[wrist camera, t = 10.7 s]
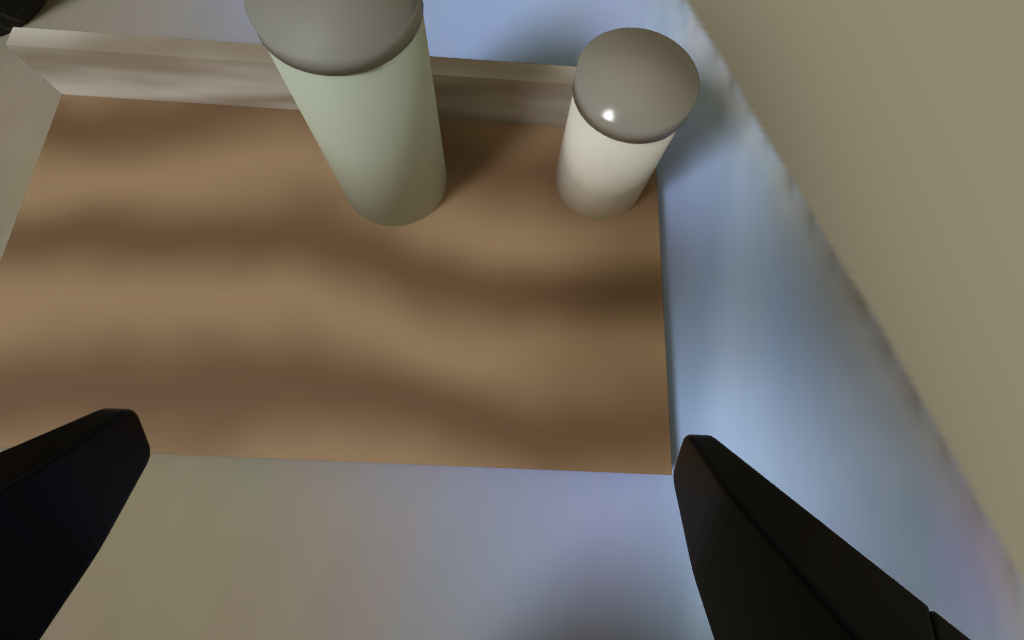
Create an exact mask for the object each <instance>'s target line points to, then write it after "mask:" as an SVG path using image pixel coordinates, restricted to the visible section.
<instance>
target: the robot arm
mask: <svg viewBox="0 0 1024 640" xmlns="http://www.w3.org/2000/svg"><path fill="white" fill-rule="evenodd" d="M149 457H150V445H149V442H148V440H147V437H146V435H145V432H144V429H143V427H142V424H141V422H140V419H139V417H138V415H137V413H136V412H134V411H133V410H131V409H123V408H104V409H100V410H97V411H95V412H93V413H90V414H88V415H86V416H83V417H81V418H79V419H77V420H74V421H72V422H70V423H67V424H65V425H63V426H60V427H58V428H56V429H53V430H51V431H49V432H46V433H44V434H42V435H39V436H37V437H35V438H32V439H30V440H28V441H25V442H23V443H21V444H19V445H16V446H14V447H12V448H9V449H7V450H5V451H2V452H0V640H40V639H41V637H42V636H43V634H44V633H45V631H46V630H47V628H48V627H49V625H50V624H51V622H52V621H53V619H54V618H55V616H56V615H57V613H58V612H59V610H60V609H61V607H62V606H63V604H64V603H65V601H66V600H67V598H68V597H69V595H70V594H71V593H72V591H73V590H74V588H75V587H76V585H77V584H78V582H79V581H80V579H81V578H82V576H83V575H84V573H85V572H86V570H87V569H88V567H89V566H90V564H91V563H92V561H93V559H94V558H95V556H96V555H97V553H98V552H99V550H100V548H101V547H102V545H103V543H104V541H105V540H106V538H107V536H108V534H109V533H110V531H111V529H112V527H113V525H114V523H115V522H116V520H117V518H118V516H119V514H120V512H121V511H122V509H123V507H124V505H125V503H126V502H127V500H128V498H129V496H130V494H131V492H132V491H133V489H134V487H135V485H136V483H137V481H138V480H139V478H140V476H141V474H142V472H143V470H144V469H145V467H146V465H147V463H148V460H149ZM674 486H675V491H676V496H677V500H678V505H679V510H680V515H681V519H682V524H683V529H684V533H685V538H686V543H687V548H688V552H689V557H690V561H691V566H692V570H693V574H694V577H695V580H696V584H697V587H698V590H699V593H700V596H701V600H702V603H703V606H704V609H705V612H706V615H707V618H708V621H709V624H710V627H711V630H712V633H713V636H714V640H970V639H969V638H968V637H966V636H965V635H964V634H962V633H961V632H960V631H959V630H957V629H956V628H955V627H954V626H952V625H951V624H950V623H948V622H947V621H946V620H945V619H943V618H942V617H941V616H940V615H938V614H937V613H936V612H934V611H929V609H928V607H927V605H925V604H924V603H923V602H922V601H920V600H919V599H918V598H917V597H915V596H914V595H913V594H912V593H910V592H909V591H908V590H906V589H905V588H904V587H903V586H901V585H900V584H899V583H898V582H896V581H895V580H894V579H893V578H891V577H890V576H889V575H887V574H886V573H885V572H884V571H882V570H881V569H880V568H879V567H877V566H876V565H875V564H874V563H872V562H871V561H870V560H868V559H867V558H866V557H865V556H863V555H862V554H861V553H860V552H858V551H857V550H856V549H855V548H853V547H852V546H851V545H849V544H848V543H847V542H846V541H844V540H843V539H842V538H841V537H839V536H838V535H837V534H836V533H834V532H833V531H832V530H830V529H829V528H828V527H827V526H825V525H824V524H823V523H822V522H820V521H819V520H818V519H817V518H815V517H814V516H813V515H811V514H810V513H809V512H808V511H806V510H805V509H804V508H803V507H801V506H800V505H799V504H798V503H796V502H795V501H794V500H793V499H791V498H790V497H789V496H787V495H786V494H785V493H784V492H782V491H781V490H780V489H779V488H777V487H776V486H775V485H774V484H772V483H771V482H770V481H768V480H767V479H766V478H765V477H763V476H762V475H761V474H760V473H758V472H757V471H756V470H755V469H753V468H752V467H751V466H749V465H748V464H747V463H746V462H744V461H743V460H742V459H741V458H739V457H738V456H737V455H736V454H734V453H733V452H732V451H730V450H729V449H728V448H727V447H725V446H724V445H723V444H722V443H720V442H719V441H718V440H717V439H715V438H714V437H712V436H709V435H687V436H686V437H685V438H684V440H683V442H682V446H681V449H680V452H679V456H678V459H677V462H676V466H675V469H674Z"/></svg>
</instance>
